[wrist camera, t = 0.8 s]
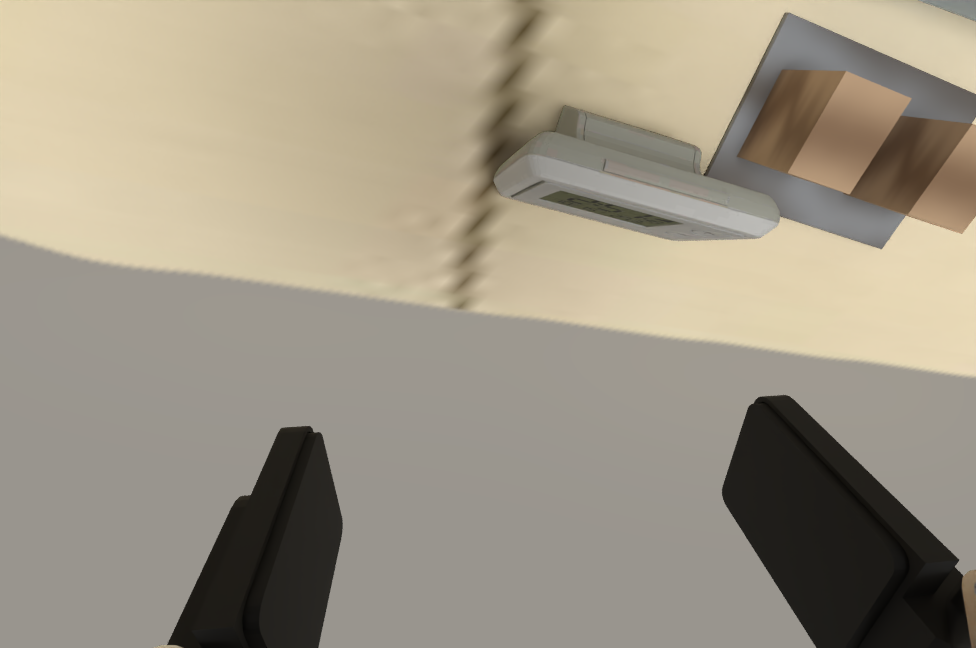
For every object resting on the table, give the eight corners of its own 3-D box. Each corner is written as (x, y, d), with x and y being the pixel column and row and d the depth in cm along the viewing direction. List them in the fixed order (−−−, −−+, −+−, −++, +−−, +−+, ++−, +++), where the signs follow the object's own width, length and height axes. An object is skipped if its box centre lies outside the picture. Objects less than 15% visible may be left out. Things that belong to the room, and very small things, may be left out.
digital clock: (479, 181, 35) (492, 223, 26) (539, 57, 32) (579, 55, 23) (651, 267, 40) (715, 329, 31) (721, 167, 36) (816, 204, 27)
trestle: (785, 13, 32) (858, 2, 26) (982, 99, 36) (1083, 106, 30) (697, 188, 37) (742, 211, 31) (877, 247, 41) (947, 276, 35)
